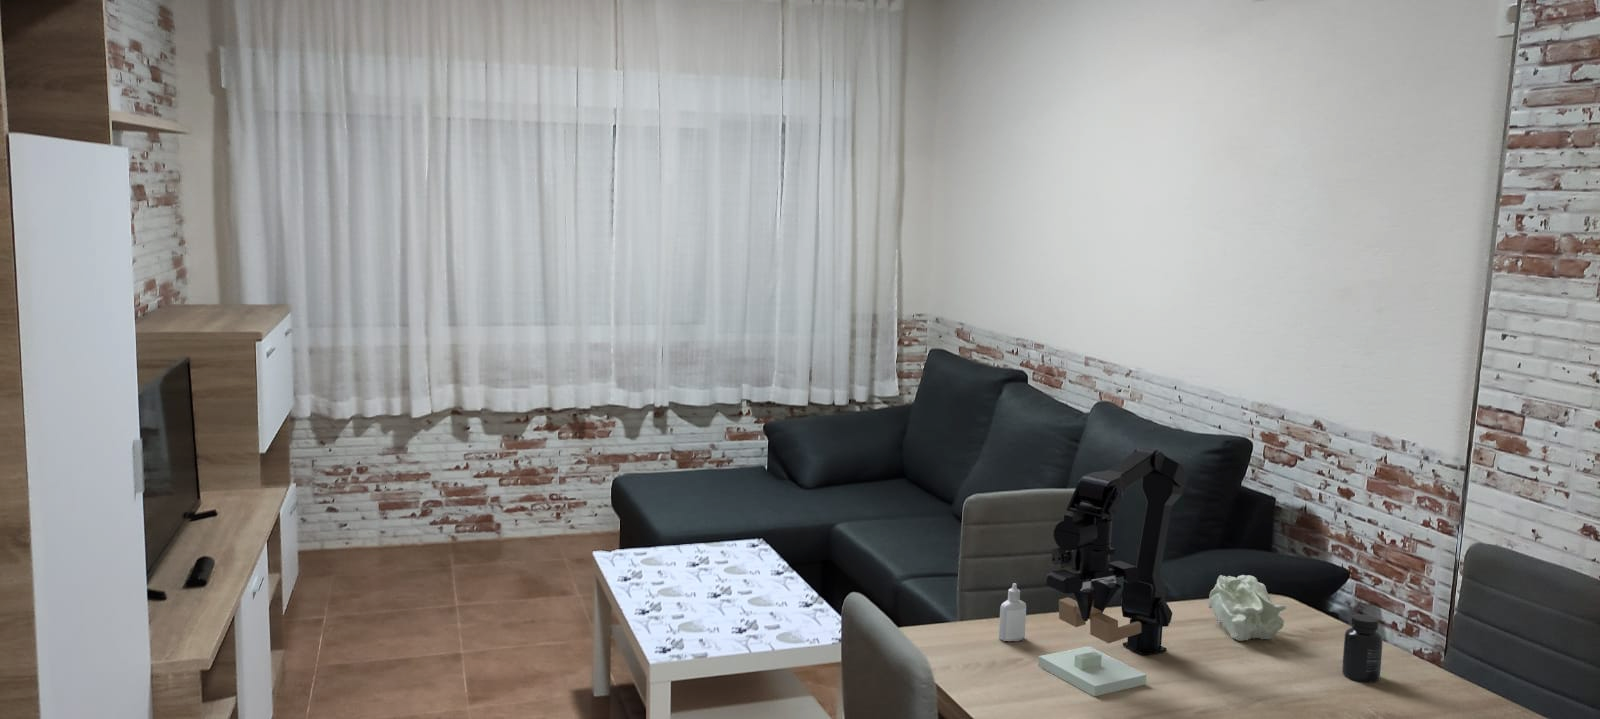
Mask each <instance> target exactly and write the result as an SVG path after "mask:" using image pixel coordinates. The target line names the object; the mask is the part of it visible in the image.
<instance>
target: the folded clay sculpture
mask: <svg viewBox="0 0 1600 719" xmlns="http://www.w3.org/2000/svg"><path fill="white" fill-rule="evenodd" d="M1208 596H1209V601H1208V609H1212V612H1213V615H1214V617H1215V619H1217V620H1218V621H1220V622H1221V623H1220V622H1219V623H1220V624H1221V625H1222V627H1223V628H1224V629H1225V630H1227V633H1229V635H1230V638H1232V639H1233V638H1234V640H1235V639H1236V640H1235V641H1237V642H1238V641H1240V642H1241V641H1242V642H1243V641H1244V640H1247V639H1249V640H1251V639H1255V638H1262V639H1261V640H1263V639H1268V640H1272V639H1273V638H1274V636H1275V635H1276V634H1277V633H1278V632H1279V631H1280V630H1282V628H1283V627H1284V623H1285V622H1284V621H1285V620H1284V619H1283V617H1281V616H1280V615H1279V614H1280V612H1281V611H1282V612H1283V611H1285V610H1286V609H1287V606H1286V605H1284V604H1276V603H1274V602H1273V601H1272V599H1271V597H1270V596H1269V593H1268V591H1267V587H1266V585H1265V584H1264V583H1262V582H1259V581H1258V579H1257V577H1255V576H1253V575H1249V574H1248V575H1245V574H1241V575H1238V576H1237V577H1236V576H1231V575H1228V576H1226V575H1223V574H1222V575H1221V574H1220V575H1219V576H1218V577H1217V580H1216V584H1214V588H1213V589H1211V590H1210V592H1209V595H1208ZM1217 620H1216V621H1217ZM1218 621H1217V622H1218ZM1247 641H1248V640H1247Z"/></svg>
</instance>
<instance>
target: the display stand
mask: <svg viewBox="0 0 1600 719" xmlns="http://www.w3.org/2000/svg"><path fill="white" fill-rule="evenodd" d="M1037 662H1038V664H1037V666H1038V667H1039V668H1041V669H1043V670H1045V671H1047V672H1048V673H1051V674H1053V676H1056V677H1058V678H1060V679H1062V680H1064V681H1066V682H1067V683H1069V684H1071V685H1073V686H1074V687H1076V688H1078V689H1079V690H1081V691H1084V692H1085V693H1086V694H1088V695H1090V696H1093V697H1098V696H1103V695H1106V694H1111V693H1114V692H1119V691H1124V690H1128V689H1134V688H1136V687H1141V686H1146V684H1147V674H1146V673H1144V672H1142V671H1140V670H1138V669H1136V668H1133V667H1132V666H1130V665H1129V664H1126V663H1124V662H1121V661H1120V660H1117V659H1116V658H1113V657H1112V656H1109V655H1107V654H1105V653H1103V652H1102V651H1100V650H1098V649H1095V648H1094V647H1091V646H1090V645H1089V646H1083V647H1077V648H1073V649H1069V650H1062V651H1057V652H1053V653H1047V654H1042V655H1039V656H1038V661H1037Z"/></svg>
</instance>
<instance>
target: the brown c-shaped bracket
mask: <svg viewBox="0 0 1600 719" xmlns="http://www.w3.org/2000/svg"><path fill="white" fill-rule="evenodd" d="M1058 619H1059V620H1061V621H1063V622H1065V623H1067V624H1068V625H1071V626H1072V627H1074V628H1079V627H1082V626H1085V625H1086V622H1087V621H1084V620H1083V619H1082V616H1081V613H1080V610H1079V606H1078V603H1077V600H1076V599H1073V598H1071V597H1069V596H1067V597H1064V598H1061V599H1058ZM1088 620H1089V625H1090V626H1089V631H1090V632H1089V634H1090V635H1091V636H1093V637H1094V638H1097V639H1098V640H1100V641H1102V642H1105V643H1107V644H1111V643H1115V642H1117V641H1120V640H1124V639H1126V638H1127V639H1128V637H1130V636H1133V635H1136V634H1139V633H1141V623H1140V622H1138V621H1137V622H1133V623H1130V622H1129V623H1127V624H1124V625H1122V626H1119V620H1118V619H1116V618H1114V617H1111V616H1110V615H1107V614H1105V613H1104V612H1103V613H1101V610H1099V609H1096V608H1094V607H1093V604H1092V608H1091V612H1090V616H1089V619H1088Z"/></svg>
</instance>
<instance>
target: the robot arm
mask: <svg viewBox="0 0 1600 719" xmlns="http://www.w3.org/2000/svg"><path fill="white" fill-rule="evenodd" d="M1141 479H1142V480H1141ZM1140 480H1141V489H1142V492H1143V494H1144V496H1145V500H1146V507H1145V514H1144V520H1143V525H1142V529H1141V530H1142V531H1141V537H1140V542H1139V543H1140V544H1139V549H1138V554H1137V560H1136V566H1135V565H1133V564H1129V563H1127V562H1124V561H1122V560H1114V561H1111V559H1110V558H1111V555H1115V554H1116V553H1115V552H1116V549H1115V548H1114V547H1112V546H1111V542H1112V531H1113V530H1112V528H1113V518H1114V517H1117V516H1118V512H1117V510H1116V509H1115V508H1116V507H1117V506H1118V505H1119V503H1121V501H1122V500H1123V493H1124V492H1125V490H1127V489H1128V488H1130V487H1131V486H1132V485H1134V484H1136V483H1137V482H1138V481H1140ZM1187 482H1188V472H1187V471H1186V469H1185V467H1184V466H1183V464H1181V463H1179V462H1177V461H1175V460H1174V459H1172V458H1170V457H1168V456H1166V454H1164V453H1163V452H1162V451H1160V450H1158V449H1154V448H1150V447H1149V448H1148V447H1145V446H1144V447H1143V446H1141V447H1137V448H1135V450H1134V451H1133V453H1131V454H1129V455H1128V456H1127V457H1125V458H1124V459H1122V460H1121V461H1119V462H1118V463H1116V464H1114V465H1113V466H1112V467H1110V468H1108V469H1107V470H1101V471H1093V472H1090V473H1087V474H1085V475H1083V476H1082V477H1081V478H1080V479H1079V481H1078V482H1077V485H1076V487H1075V489H1074V491H1073V494H1072V495H1071V498H1070V500H1069V503H1068V505H1067V507H1066V511H1067V512H1068V513H1065V514H1063V520H1061V521H1060V522H1058V523H1057V524H1056V525H1055V527H1054V530H1053V540H1054V541H1055V543H1056V546H1058V547H1055V548H1052V550H1051V551H1052V552H1051V562H1052V564H1053V565H1058V566H1059V567H1058V568H1059V569H1058V570H1052V571H1050V572H1049V573H1047V575H1046V587H1049V588H1052V589H1053V590H1056V591H1058V592H1060V593H1063V594H1068V595H1069V594H1073V595H1074V597H1075V601H1077V603H1078V606H1079V610H1080V613H1081V616H1082V619H1083V620H1084V621H1086V622H1088V621H1089V620H1090V619H1089V616H1090V612H1091V608H1092V604H1093V607H1094V608H1096V609H1099V610H1101V613H1103V614H1104V611H1105V609H1107V606H1108V604H1109V603H1110V601H1111V600H1112V598H1113V597H1114V596H1115V595H1116V593H1117V592H1118V590H1120V589H1121V588H1122V589H1121V590H1122V591H1121V594H1120V600H1119V601H1120V608H1121V613H1122V617H1123V618H1128V619H1129V624H1130V623H1133V622H1137V621H1138V622H1140V623H1141V633H1139V634H1136V635H1133V636H1130V637H1127V640H1126V641H1125V642H1122V646H1123V647H1125V648H1127V649H1128V650H1129V649H1130V651H1131V650H1132V651H1134V652H1135V653H1138V654H1140V655H1142V656H1149V655H1154V654H1158V653H1164V652H1167V649H1168V648H1167V647H1164V646H1162V641H1163V640H1162V639H1163V638H1162V637H1163V627H1165V628H1166V627H1169V626H1170V625H1169V624H1170V623H1171V621H1172V617H1173V611H1172V610H1171V608H1170V606H1169V605H1168V603H1167V601H1166V587H1165V584H1164V582H1163V579H1162V577H1161V573H1162V565H1163V561H1164V553H1165V548H1166V542H1167V536H1168V529H1169V525H1170V518H1171V512H1172V507H1173V505H1174V504H1175V503H1176V502H1177V501H1178V500H1179V499H1180V498H1181V496H1182V495H1183V494H1184V493H1183V492H1184V488H1185V485H1186V484H1187ZM1069 512H1070V513H1069ZM1069 567H1070V570H1072V571H1075V572H1077V573H1073V572H1072V571H1069V570H1066V569H1064V568H1069ZM1122 577H1123V585H1121V584H1119V583H1117V578H1122ZM1092 588H1093V589H1092Z"/></svg>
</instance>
